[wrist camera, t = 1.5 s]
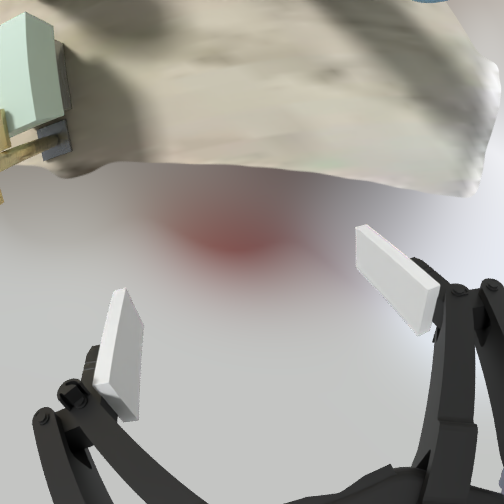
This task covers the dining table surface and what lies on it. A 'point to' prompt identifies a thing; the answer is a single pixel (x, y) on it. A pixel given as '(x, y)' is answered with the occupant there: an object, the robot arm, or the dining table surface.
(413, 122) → the dining table surface
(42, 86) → the mint green block
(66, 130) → the block
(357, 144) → the dining table surface
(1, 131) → the t key
